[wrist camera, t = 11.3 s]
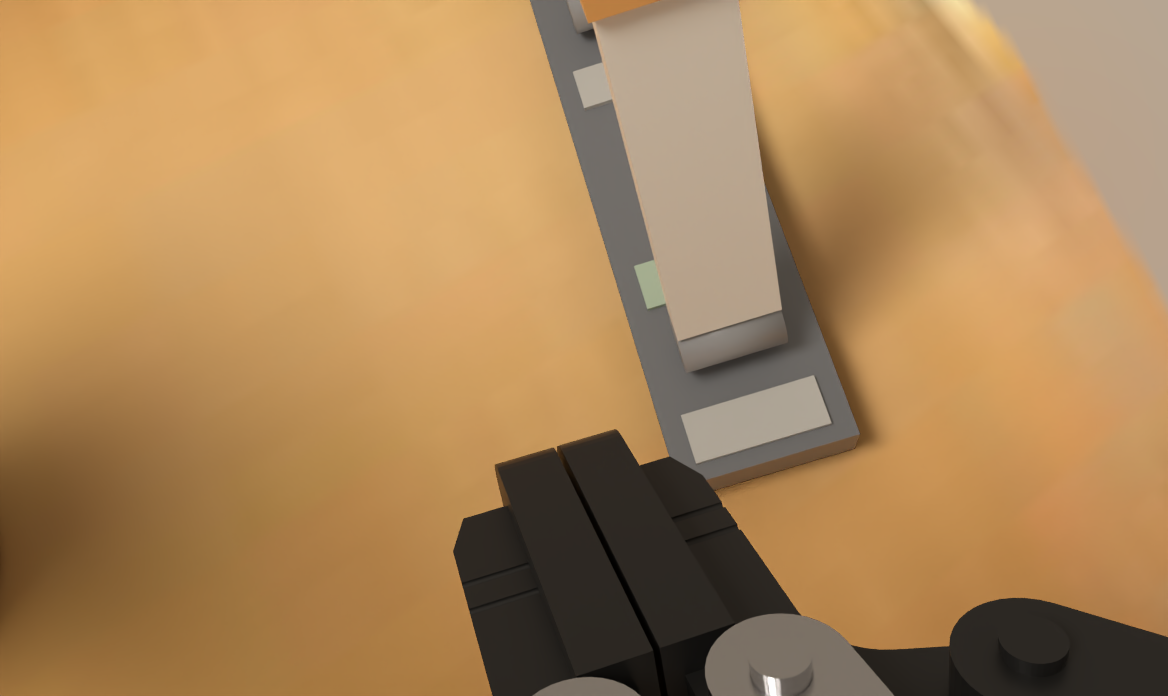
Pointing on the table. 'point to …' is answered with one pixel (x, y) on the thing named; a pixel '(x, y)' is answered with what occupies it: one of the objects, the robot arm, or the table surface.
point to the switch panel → (682, 400)
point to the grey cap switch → (578, 16)
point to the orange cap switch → (695, 169)
